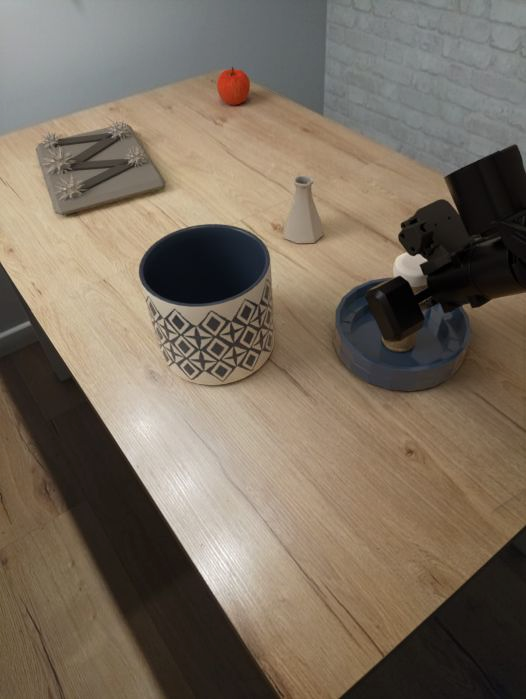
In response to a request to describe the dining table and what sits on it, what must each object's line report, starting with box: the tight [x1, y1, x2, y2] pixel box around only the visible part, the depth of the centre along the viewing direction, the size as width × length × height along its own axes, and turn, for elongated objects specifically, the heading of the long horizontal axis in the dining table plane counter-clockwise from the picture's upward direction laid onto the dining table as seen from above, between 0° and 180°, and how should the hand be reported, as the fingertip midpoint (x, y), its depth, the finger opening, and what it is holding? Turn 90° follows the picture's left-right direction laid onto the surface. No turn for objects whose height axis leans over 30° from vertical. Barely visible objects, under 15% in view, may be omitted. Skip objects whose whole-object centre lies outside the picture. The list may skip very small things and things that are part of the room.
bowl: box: [333, 277, 473, 392], centre depth 69 cm, size 17×17×4 cm
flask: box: [282, 174, 325, 244], centre depth 85 cm, size 7×7×10 cm
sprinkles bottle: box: [382, 252, 428, 352], centre depth 65 cm, size 5×5×14 cm
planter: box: [138, 223, 275, 386], centre depth 67 cm, size 16×16×14 cm
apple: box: [216, 66, 251, 106], centre depth 125 cm, size 8×8×8 cm
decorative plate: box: [34, 118, 168, 217], centre depth 105 cm, size 30×22×7 cm
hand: (397, 294), depth 66 cm, fingers open, 9 cm apart
